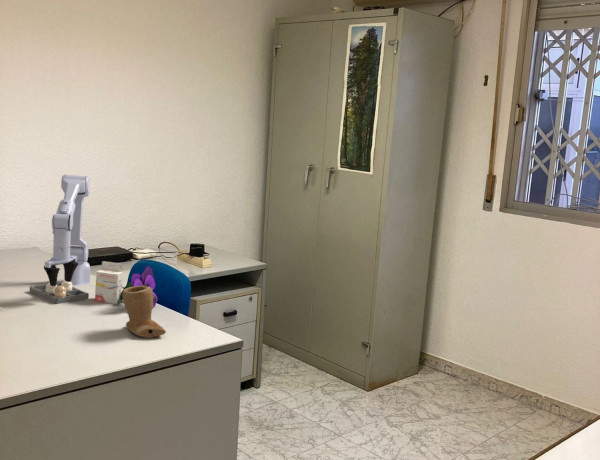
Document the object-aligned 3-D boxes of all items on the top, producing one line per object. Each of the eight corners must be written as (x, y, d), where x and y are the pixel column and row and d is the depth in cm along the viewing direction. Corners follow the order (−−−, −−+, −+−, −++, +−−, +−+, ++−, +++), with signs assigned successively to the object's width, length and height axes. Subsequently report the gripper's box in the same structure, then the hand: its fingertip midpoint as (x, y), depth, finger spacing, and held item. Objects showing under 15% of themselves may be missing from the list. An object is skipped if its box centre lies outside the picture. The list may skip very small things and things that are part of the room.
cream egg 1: (53, 294, 243) (53, 280, 242) (59, 296, 241) (59, 282, 240) (43, 295, 240) (43, 281, 239) (49, 298, 238) (49, 283, 237)
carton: (61, 288, 254) (61, 282, 253) (88, 299, 242) (88, 293, 242) (29, 293, 244) (29, 286, 244) (56, 305, 232) (56, 298, 232)
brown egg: (59, 298, 239) (59, 283, 238) (68, 300, 238) (68, 285, 237) (51, 300, 236) (52, 285, 235) (60, 302, 234) (60, 287, 233)
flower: (115, 323, 235) (144, 312, 230) (100, 284, 235) (129, 272, 230) (138, 313, 248) (166, 302, 244) (124, 276, 248) (152, 265, 244)
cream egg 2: (68, 292, 248) (68, 278, 247) (74, 294, 246) (74, 280, 245) (58, 293, 245) (59, 279, 244) (64, 296, 242) (64, 281, 242)
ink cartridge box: (94, 302, 240) (95, 263, 237) (100, 299, 245) (101, 260, 242) (116, 305, 239) (118, 266, 236) (121, 301, 244) (123, 263, 241)
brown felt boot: (116, 326, 216) (118, 282, 213) (151, 323, 222) (153, 280, 220) (129, 341, 203) (132, 295, 201) (166, 338, 209) (169, 292, 207)
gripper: (67, 242, 242) (65, 277, 244) (38, 248, 228) (37, 285, 231) (82, 245, 239) (81, 281, 241) (54, 251, 226) (53, 289, 228)
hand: (60, 283), depth 236 cm, fingers open, 7 cm apart
